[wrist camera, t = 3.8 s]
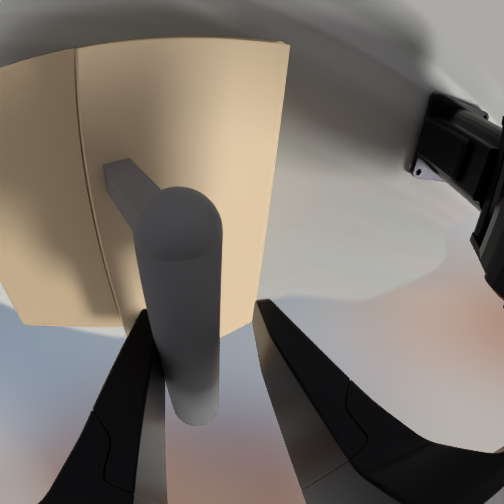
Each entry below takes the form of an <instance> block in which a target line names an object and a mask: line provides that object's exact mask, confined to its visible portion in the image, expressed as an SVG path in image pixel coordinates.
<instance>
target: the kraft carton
mask: <svg viewBox="0 0 504 504" xmlns="http://www.w3.org/2000/svg"><path fill="white" fill-rule="evenodd" d="M174 38H214V39H236V40H250V41H261V42H270V43H279V44H284V42H282V41H273V40H264V39H253V38H239V37H216V36H178V37H156V38H143V39H132V40H123V41H114V42H107V43H100V44H94V45H88V46H82V47H76V48H71V49H66V50H61V51H57V52H53V53H48V54H44V55H41V56H37V57H33V58H29V59H26V60H23V61H19V62H16V63H13V64H10V65H7V66H4V67H1V68H0V282H1V284H2V286H3V288H4V289H5V291H6V293H7V295H8V297H9V299H10V301H11V303H12V304H13V306H14V308H15V310H16V312H17V313H18V315H19V317H20V318H21V320H22V322H23V323H24V325H41V326H73V327H122V326H123V323H122V320H121V317H120V314H119V310H118V307H117V304H116V301H115V297H114V294H113V291H112V287H111V284H110V280H109V277H108V273H107V269H106V266H105V262H104V258H103V254H102V250H101V246H100V241H99V237H98V233H97V228H96V224H95V219H94V214H93V209H92V204H91V199H90V193H89V188H88V182H87V176H86V169H85V163H84V156H83V148H82V140H81V131H80V121H79V110H78V97H77V78H76V49H79V48H84V47H90V46H96V45H103V44H111V43H119V42H128V41H139V40H153V39H174Z"/></svg>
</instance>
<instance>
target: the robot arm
mask: <svg viewBox="0 0 504 504" xmlns="http://www.w3.org/2000/svg"><path fill="white" fill-rule="evenodd" d="M437 97H438V100H437V102H436V99H437ZM488 118H489V117H488V113H486V112H484V111H482V110H480V109H478V108H476V107H473V106H471V105H469V104H466V103H464V102H461V101H459V100H456V99H454V98H451V97H449V96H446V95H443V94H441V93H438V92H433V93H432V94H431V96H430V99H429V104H428V108H427V112H426V116H425V120H424V124H423V128H422V131H421V135H420V139H419V142H418V146H417V149H416V153H415V156H414V160H413V163H412V166H411V170H410V172H411V174H412V175H413V176H414V177H415V178H419V179H426V180H434V181H441V182H447V183H448V184H449V185H450V186H452V187H453V188H454V189H455V190H456V191H457V192H459V193H460V194H461V195H462V196H463V197H464V198H466V199H467V200H468V201H469V202H470V203H471V204H472V205H473V206H475V207H476V208H477V209H478V210H479V211H480V212H481V213H480V216H479V219H478V222H477V225H476V228H475V230H474V232H473V233H472V235H471V238H470V241H471V244H472V245H473V248H474V250H475V252H476V254H477V256H478V258H479V260H480V262H481V264H482V267H483V269H484V271H485V280H486V282H487V283H488V284H489V286H490V287H491V288H492V289H493V290H494V292H495V293H496V294H497V295H498V296H499V297H500V298H501V299H503V300H504V116H503V119H502V125H503V127H502V128H501V127H499V126H497V125H495V124H494V123H492V122H490V121H488ZM417 170H418V171H417ZM416 171H417V172H416ZM503 308H504V305H503ZM252 322H253V330H254V334H255V340H256V346H257V351H258V357H259V362H260V367H261V372H262V375H263V378H264V381H265V385H266V388H267V391H268V394H269V397H270V399H271V403H272V406H273V409H274V412H275V415H276V418H277V421H278V424H279V427H280V430H281V433H282V435H283V438H284V441H285V444H286V447H287V450H288V453H289V456H290V459H291V462H292V464H293V467H294V470H295V473H296V476H297V478H298V481H299V484H300V487H301V489H302V493H303V496H304V498H305V501H306V504H504V447H502V448H500V449H499V450H497V451H495V452H494V453H485V452H479V451H473V450H468V449H462V448H457V447H452V446H447V445H442V444H438V443H434V442H432V441H429V440H427V439H424V438H423V437H421V436H419V435H418V434H416V433H415V432H414V431H412V430H411V429H410V428H408V427H407V426H405V425H404V424H403V423H401V422H400V421H399V420H397V419H396V418H395V417H393V416H392V415H391V414H389V413H388V412H387V411H386V410H384V409H383V408H382V407H381V406H379V405H378V404H377V403H376V402H374V401H373V400H372V399H371V398H370V397H369V396H368V395H367V394H365V393H364V392H363V391H362V390H361V389H360V388H359V387H358V386H357V385H356V384H355V383H354V382H353V381H352V380H350V379H349V377H348V376H347V375H346V374H344V372H343V371H342V370H341V369H339V368H338V367H337V366H336V365H335V364H334V363H333V362H332V361H331V360H330V359H329V358H328V357H327V356H326V355H325V354H324V353H323V352H322V351H321V350H320V349H319V348H318V347H317V346H316V345H315V344H314V343H313V342H312V341H311V340H310V339H309V338H308V337H307V336H306V335H305V334H304V333H303V332H302V331H301V330H300V329H299V328H298V327H297V326H296V325H295V324H294V323H293V322H292V321H291V320H290V319H289V318H288V317H287V316H286V315H285V314H284V313H283V312H282V311H281V310H280V309H279V308H278V307H277V306H276V305H275V304H274V303H273V302H272V301H271V300H270V299H260V300H256V301H255V304H254V311H253V318H252ZM93 410H94V411H93ZM93 410H92V411H91V413H90V415H89V417H88V420H87V422H86V424H85V426H84V428H83V431H82V432H81V435H80V437H79V439H78V440H77V442H76V444H75V446H74V448H73V450H72V451H71V453H70V455H69V457H68V458H67V460H66V462H65V464H64V465H63V467H62V469H61V471H60V473H59V474H58V476H57V478H56V479H55V481H54V483H53V485H52V486H51V488H50V490H49V492H48V493H47V494H46V496H45V497H44V498H43V499H42V500H41V501H40V502H39V503H38V504H168V503H167V486H166V460H165V377H164V373H163V370H162V366H161V362H160V359H159V355H158V351H157V347H156V343H155V341H154V338H153V334H152V329H151V325H150V321H149V317H148V312H147V309H142V310H141V312H140V313H139V315H138V317H137V319H136V321H135V323H134V325H133V327H132V329H131V331H130V333H129V334H128V336H127V338H126V340H125V342H124V344H123V346H122V348H121V350H120V352H119V354H118V356H117V358H116V360H115V362H114V365H113V366H112V368H111V370H110V373H109V375H108V377H107V379H106V381H105V383H104V385H103V387H102V389H101V392H100V394H99V396H98V398H97V400H96V402H95V404H94V407H93Z"/></svg>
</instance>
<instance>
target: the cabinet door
mask: <svg viewBox="0 0 504 504" xmlns="http://www.w3.org/2000/svg"><path fill="white" fill-rule="evenodd" d="M289 52H290V45H286V44H279V43H270V42H261V41H250V40H236V39H214V38H174V39H153V40H139V41H128V42H119V43H111V44H103V45H96V46H90V47H84V48H79V49H76V78H77V97H78V110H79V121H80V131H81V140H82V148H83V156H84V163H85V169H86V176H87V182H88V188H89V193H90V199H91V204H92V209H93V214H94V219H95V224H96V228H97V233H98V237H99V241H100V246H101V250H102V254H103V258H104V262H105V266H106V269H107V273H108V277H109V280H110V284H111V287H112V291H113V294H114V297H115V301H116V304H117V307H118V310H119V314H120V317H121V320H122V323H123V326H124V329H125V332H126V335H127V336H128V334H129V333H130V331H131V329H132V327H133V325H134V323H135V321H136V319H137V317H138V315H139V313H140V312H141V310H142V309H147V312H148V317H149V321H150V325H151V329H152V334H153V338H154V341H155V343H156V347H157V351H158V355H159V359H160V362H161V366H162V370H163V373H164V377H165V382H166V385H167V388H168V392H169V395H170V398H171V401H172V404H173V408H174V410H175V413H176V415H177V416H178V417H179V419H180V420H182V421H183V422H185V423H186V424H189V425H192V426H202V425H206V424H208V423H209V422H211V421H212V420H213V419H214V418H215V417H216V415H217V413H218V410H219V351H220V338H221V337H223V336H224V335H227V334H228V333H230V332H232V331H234V330H236V329H238V328H240V327H242V326H244V325H246V324H248V323H249V322H251V321H252V318H253V311H254V304H255V301H256V299H257V292H258V285H259V278H260V271H261V264H262V257H263V250H264V243H265V236H266V228H267V221H268V214H269V207H270V199H271V192H272V184H273V177H274V169H275V162H276V154H277V147H278V139H279V131H280V124H281V116H282V108H283V100H284V92H285V84H286V76H287V68H288V60H289Z"/></svg>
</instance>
